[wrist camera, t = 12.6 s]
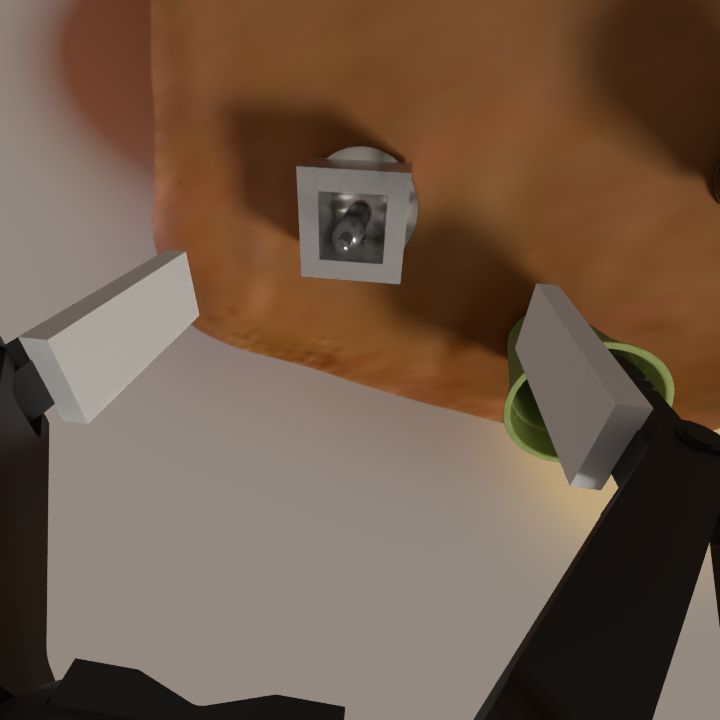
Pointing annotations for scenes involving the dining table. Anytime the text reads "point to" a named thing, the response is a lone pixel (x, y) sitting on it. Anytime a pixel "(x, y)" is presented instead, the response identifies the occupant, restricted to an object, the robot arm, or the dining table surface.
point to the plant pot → (523, 408)
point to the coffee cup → (717, 182)
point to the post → (365, 208)
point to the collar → (317, 218)
